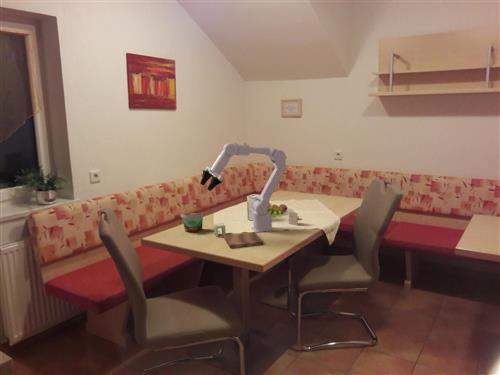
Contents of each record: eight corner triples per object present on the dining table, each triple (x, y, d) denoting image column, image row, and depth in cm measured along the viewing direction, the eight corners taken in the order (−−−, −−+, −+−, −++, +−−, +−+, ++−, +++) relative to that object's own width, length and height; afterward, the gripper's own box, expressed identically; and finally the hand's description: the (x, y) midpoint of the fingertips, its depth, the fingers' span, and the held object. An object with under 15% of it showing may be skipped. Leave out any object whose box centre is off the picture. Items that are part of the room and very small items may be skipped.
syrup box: (253, 217, 245) (252, 193, 242) (261, 219, 241) (260, 194, 238) (247, 220, 241) (246, 195, 238) (255, 221, 237) (254, 196, 234)
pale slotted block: (223, 233, 218) (223, 222, 217) (225, 235, 214) (225, 225, 212) (214, 234, 217) (213, 223, 216) (216, 236, 212) (215, 226, 211)
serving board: (254, 234, 214) (254, 231, 213) (263, 244, 198) (263, 241, 198) (224, 238, 210) (223, 235, 210) (230, 248, 195) (230, 245, 194)
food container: (183, 234, 219) (182, 216, 217) (182, 231, 224) (180, 213, 222) (206, 231, 222) (205, 213, 220) (204, 228, 228) (203, 210, 226)
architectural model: (292, 223, 233) (292, 210, 231) (302, 225, 228) (302, 212, 227) (288, 224, 230) (288, 211, 228) (299, 226, 226) (299, 213, 224)
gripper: (207, 156, 212) (193, 178, 212) (221, 165, 201) (206, 189, 201) (217, 162, 217) (202, 184, 217) (231, 172, 206) (216, 195, 206)
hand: (205, 187), depth 209 cm, fingers open, 7 cm apart
